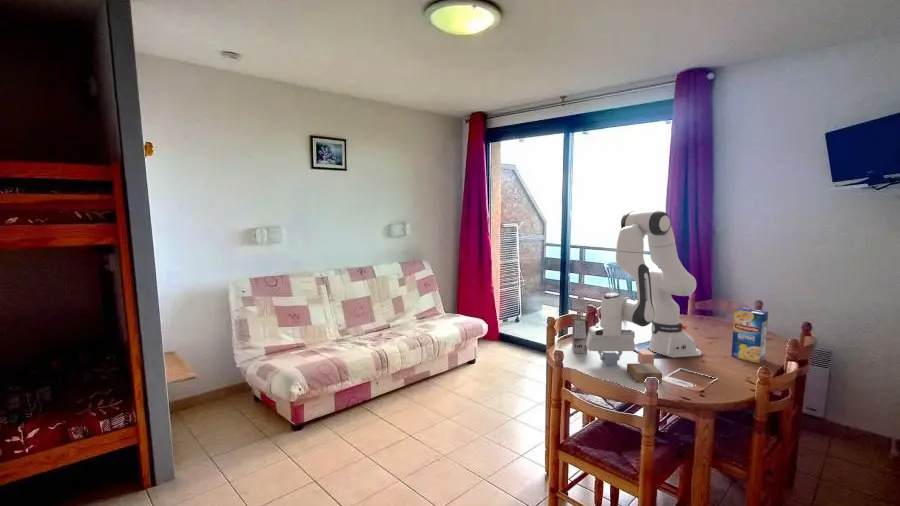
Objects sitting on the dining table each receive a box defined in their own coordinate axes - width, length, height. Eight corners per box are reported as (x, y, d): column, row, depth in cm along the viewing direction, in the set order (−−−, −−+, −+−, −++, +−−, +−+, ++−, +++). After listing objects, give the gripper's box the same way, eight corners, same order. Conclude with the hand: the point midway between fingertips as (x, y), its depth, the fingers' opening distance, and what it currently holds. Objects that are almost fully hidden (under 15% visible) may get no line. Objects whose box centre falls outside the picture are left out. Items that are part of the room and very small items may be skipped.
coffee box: (587, 353, 202) (588, 320, 200) (573, 353, 204) (574, 320, 202) (585, 347, 211) (586, 315, 209) (571, 346, 212) (572, 315, 210)
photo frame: (660, 378, 172) (679, 367, 183) (660, 381, 172) (679, 369, 183) (699, 391, 160) (718, 378, 172) (699, 393, 160) (717, 380, 172)
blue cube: (613, 361, 192) (613, 350, 192) (617, 365, 187) (617, 354, 187) (602, 361, 193) (602, 350, 192) (605, 365, 188) (605, 354, 187)
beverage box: (759, 363, 188) (763, 314, 185) (731, 356, 197) (734, 309, 194) (764, 359, 192) (768, 311, 189) (737, 352, 201) (740, 307, 198)
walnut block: (651, 372, 179) (651, 363, 179) (661, 382, 169) (662, 373, 169) (626, 372, 180) (627, 363, 179) (635, 382, 170) (636, 373, 169)
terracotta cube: (649, 361, 192) (649, 350, 192) (653, 365, 187) (654, 354, 187) (637, 361, 193) (638, 350, 192) (642, 365, 188) (642, 354, 187)
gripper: (632, 327, 191) (631, 357, 192) (585, 327, 192) (584, 357, 193) (637, 331, 184) (636, 362, 186) (589, 331, 185) (588, 362, 187)
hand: (609, 360), depth 190 cm, fingers closed on blue cube, 5 cm apart
